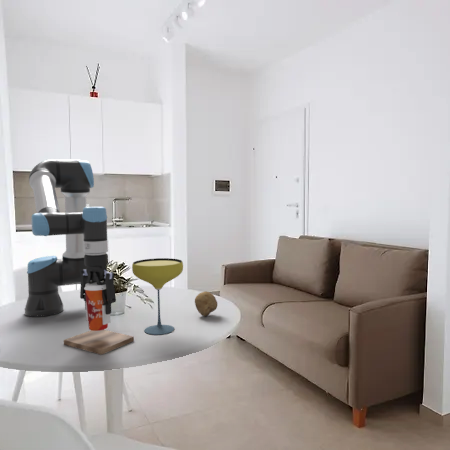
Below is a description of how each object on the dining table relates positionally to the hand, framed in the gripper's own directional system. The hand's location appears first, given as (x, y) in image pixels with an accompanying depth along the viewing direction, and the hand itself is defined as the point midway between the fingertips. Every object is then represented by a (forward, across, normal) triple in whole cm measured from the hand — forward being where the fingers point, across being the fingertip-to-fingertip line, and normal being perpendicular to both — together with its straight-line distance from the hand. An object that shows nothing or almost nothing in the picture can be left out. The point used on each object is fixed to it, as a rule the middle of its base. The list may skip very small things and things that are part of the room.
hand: (98, 321), depth 137 cm
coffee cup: (+2, 0, 0) cm, 2 cm away
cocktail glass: (+7, +9, +20) cm, 23 cm away
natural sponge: (+7, +14, +43) cm, 46 cm away
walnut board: (+7, 0, 0) cm, 7 cm away
